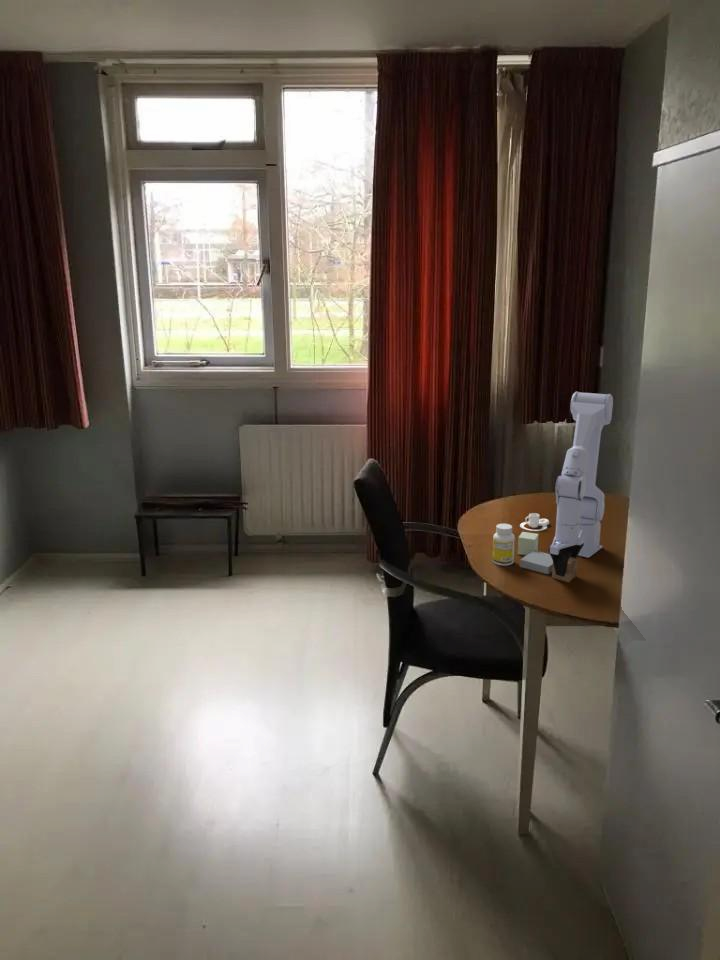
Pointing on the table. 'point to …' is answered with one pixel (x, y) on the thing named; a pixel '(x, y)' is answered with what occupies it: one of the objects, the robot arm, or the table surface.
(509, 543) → the supplement bottle
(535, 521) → the teacup and saucer
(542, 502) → the table surface
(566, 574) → the walnut block
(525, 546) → the sage block
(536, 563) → the slate slab
